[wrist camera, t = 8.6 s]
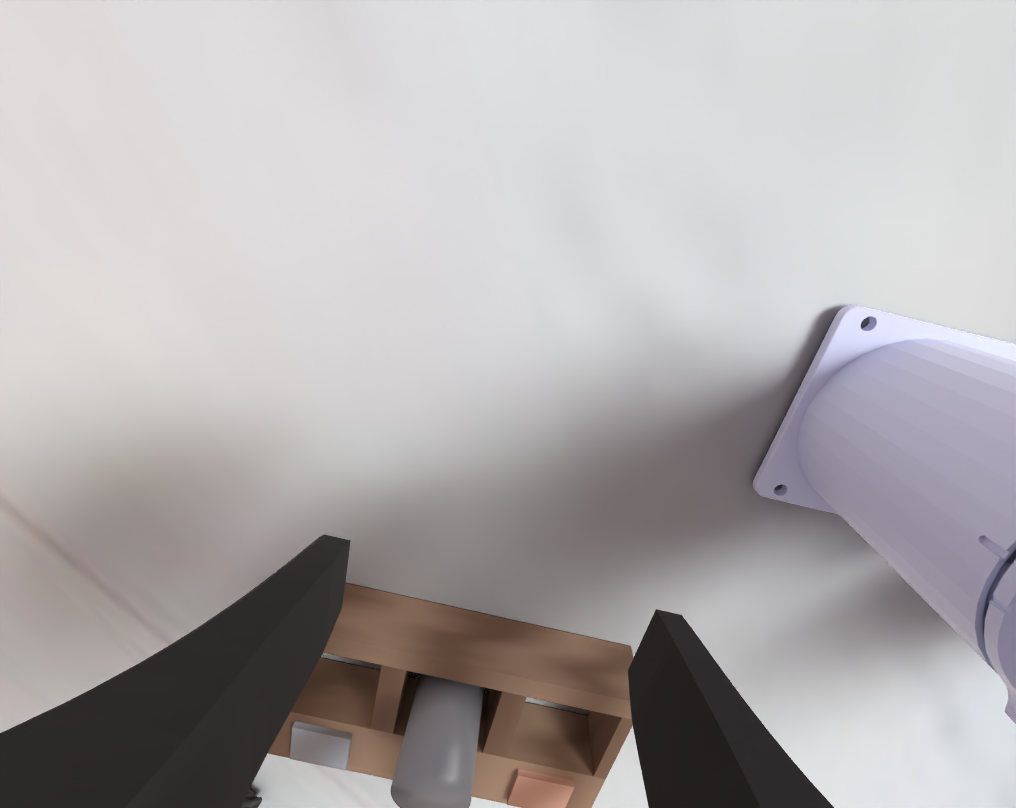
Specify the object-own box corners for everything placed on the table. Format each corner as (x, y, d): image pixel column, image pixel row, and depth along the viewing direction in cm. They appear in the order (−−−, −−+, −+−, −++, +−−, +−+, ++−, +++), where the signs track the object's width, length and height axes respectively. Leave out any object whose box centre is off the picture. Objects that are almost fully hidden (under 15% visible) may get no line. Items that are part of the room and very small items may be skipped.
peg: (481, 631, 24) (462, 768, 18) (491, 676, 25) (477, 819, 19) (420, 634, 24) (382, 771, 18) (433, 679, 25) (401, 821, 20)
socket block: (630, 646, 24) (644, 710, 21) (580, 757, 27) (585, 827, 24) (303, 573, 23) (267, 628, 20) (293, 696, 27) (261, 759, 24)
